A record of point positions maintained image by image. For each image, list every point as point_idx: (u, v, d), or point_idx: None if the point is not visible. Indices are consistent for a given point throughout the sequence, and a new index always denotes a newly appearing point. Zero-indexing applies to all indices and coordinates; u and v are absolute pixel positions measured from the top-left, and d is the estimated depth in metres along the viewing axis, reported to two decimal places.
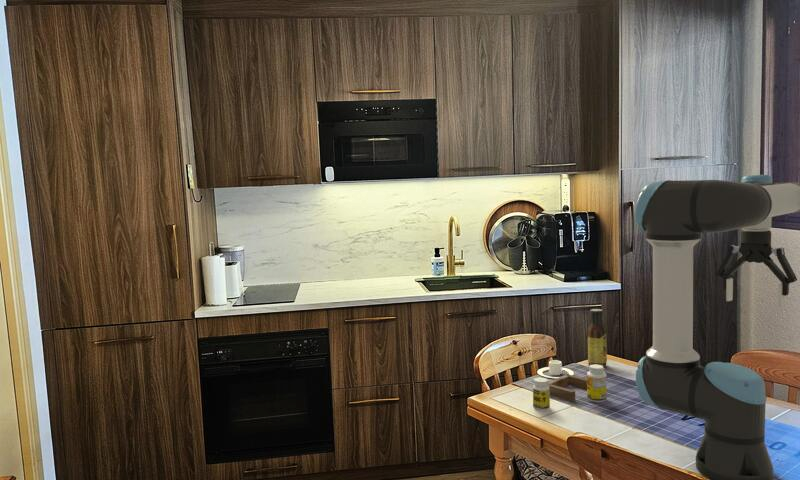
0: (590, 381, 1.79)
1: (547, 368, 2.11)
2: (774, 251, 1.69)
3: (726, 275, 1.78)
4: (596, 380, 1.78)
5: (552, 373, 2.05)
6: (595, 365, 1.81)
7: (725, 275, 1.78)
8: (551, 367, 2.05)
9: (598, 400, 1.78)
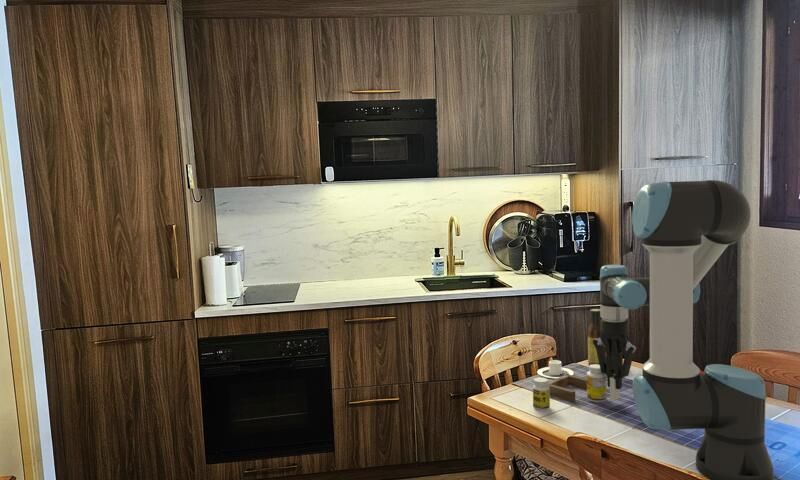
0: (590, 381, 1.79)
1: (547, 368, 2.11)
2: (627, 346, 1.71)
3: (608, 372, 1.76)
4: (596, 380, 1.78)
5: (552, 373, 2.05)
6: (595, 365, 1.81)
7: (608, 373, 1.76)
8: (551, 367, 2.05)
9: (598, 400, 1.78)
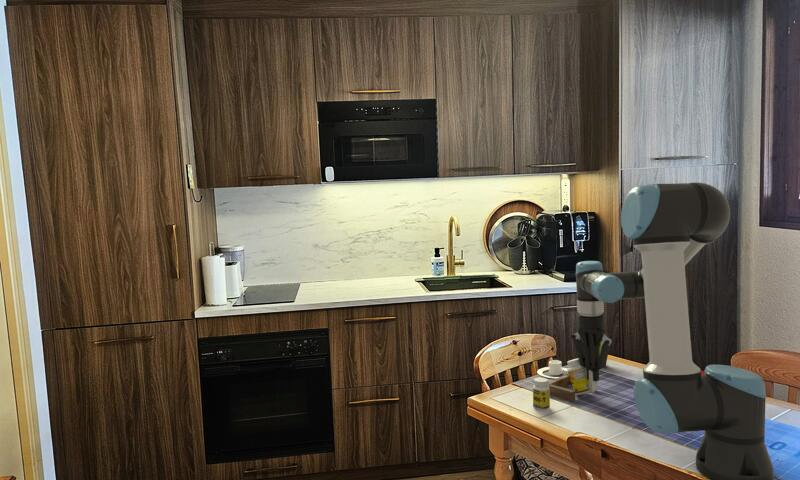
0: (572, 375, 1.84)
1: (547, 368, 2.11)
2: (603, 339, 1.77)
3: (587, 365, 1.81)
4: (576, 371, 1.83)
5: (552, 373, 2.05)
6: (572, 360, 1.87)
7: (586, 366, 1.82)
8: (551, 367, 2.05)
9: (585, 391, 1.82)
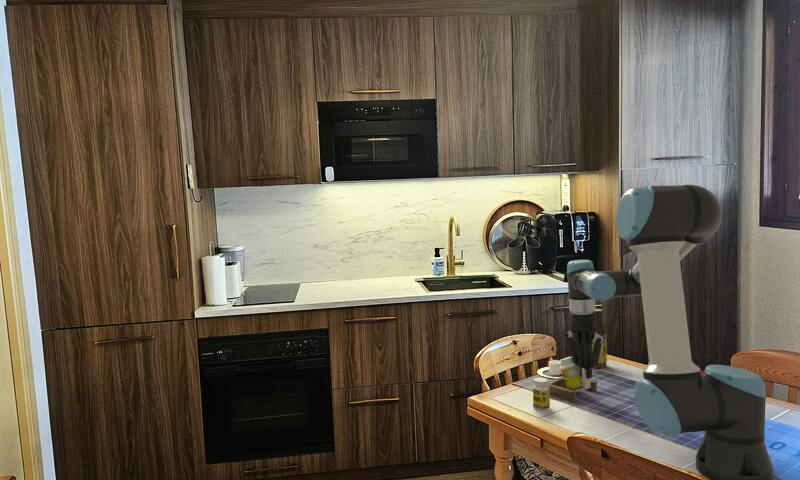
0: (565, 373, 1.86)
1: (547, 368, 2.11)
2: (595, 337, 1.79)
3: (580, 363, 1.84)
4: (570, 369, 1.85)
5: (552, 373, 2.05)
6: (565, 358, 1.89)
7: (579, 364, 1.84)
8: (551, 367, 2.05)
9: (579, 388, 1.84)
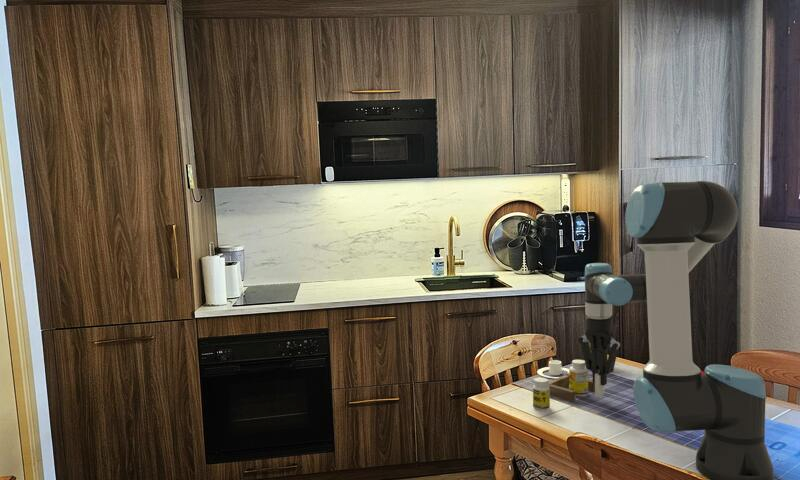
0: (573, 376, 1.84)
1: (547, 368, 2.11)
2: (612, 342, 1.75)
3: (593, 369, 1.79)
4: (579, 375, 1.83)
5: (552, 373, 2.05)
6: (577, 360, 1.86)
7: (593, 369, 1.79)
8: (551, 367, 2.05)
9: (580, 394, 1.84)
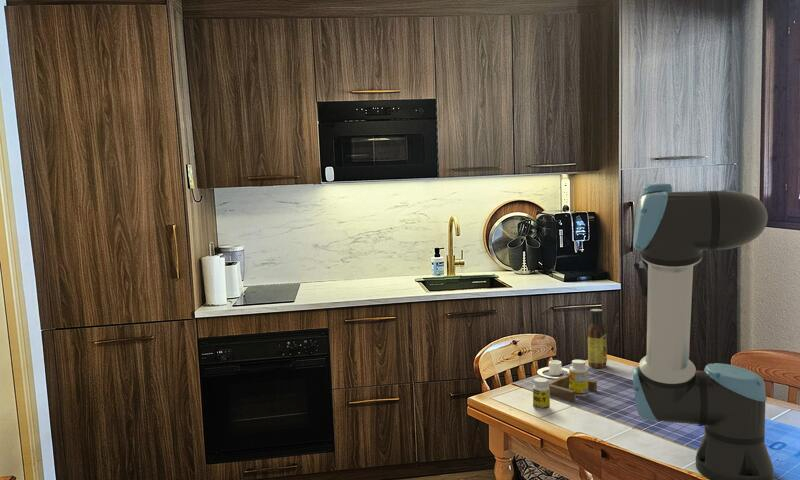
0: (573, 375, 1.84)
1: (547, 368, 2.11)
2: None
3: None
4: (578, 375, 1.83)
5: (552, 373, 2.05)
6: (577, 360, 1.86)
7: None
8: (551, 367, 2.05)
9: (580, 394, 1.84)
